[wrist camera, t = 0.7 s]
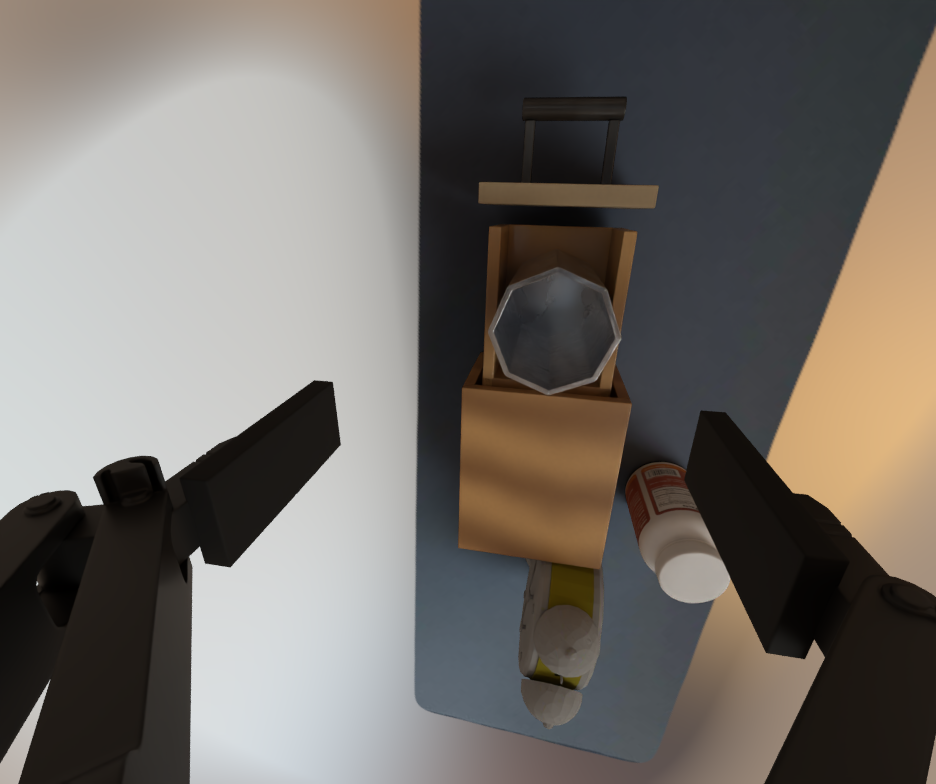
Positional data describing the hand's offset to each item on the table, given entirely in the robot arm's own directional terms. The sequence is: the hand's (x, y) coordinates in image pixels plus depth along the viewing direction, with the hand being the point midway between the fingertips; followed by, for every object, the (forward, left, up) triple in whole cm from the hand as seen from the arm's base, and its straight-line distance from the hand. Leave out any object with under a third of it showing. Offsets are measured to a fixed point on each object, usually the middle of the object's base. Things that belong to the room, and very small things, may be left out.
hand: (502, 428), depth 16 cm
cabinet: (+11, -3, -23) cm, 25 cm away
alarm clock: (+25, -7, -23) cm, 34 cm away
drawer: (-3, +3, -22) cm, 22 cm away
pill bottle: (+20, +5, -23) cm, 31 cm away
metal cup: (-1, +2, -21) cm, 21 cm away
